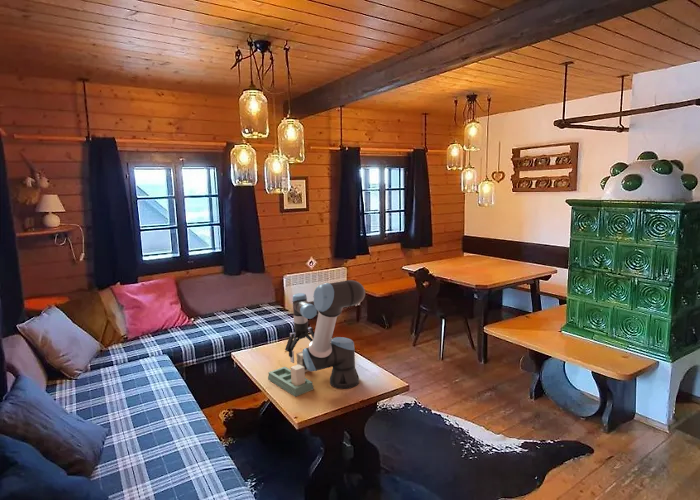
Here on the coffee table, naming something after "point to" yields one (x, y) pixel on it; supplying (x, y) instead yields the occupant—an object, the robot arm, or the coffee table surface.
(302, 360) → the block
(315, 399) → the coffee table surface
